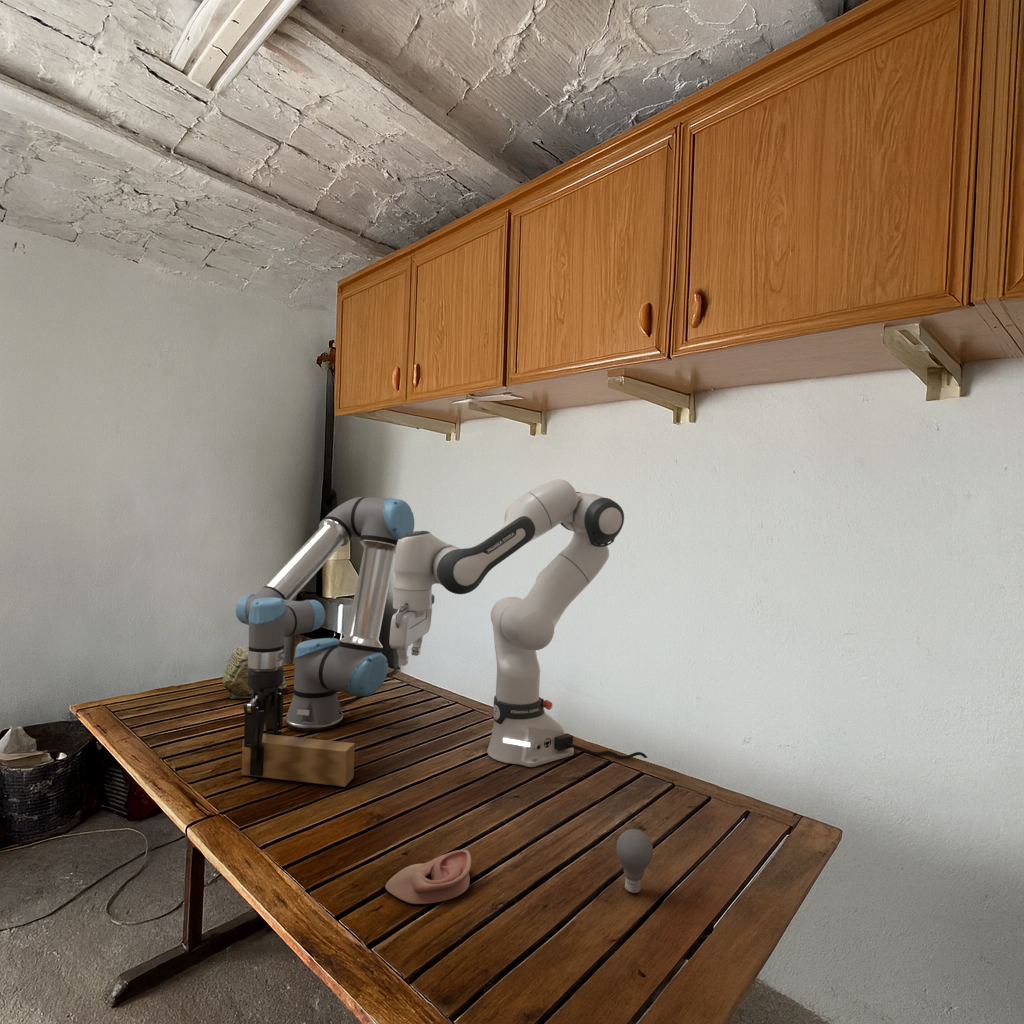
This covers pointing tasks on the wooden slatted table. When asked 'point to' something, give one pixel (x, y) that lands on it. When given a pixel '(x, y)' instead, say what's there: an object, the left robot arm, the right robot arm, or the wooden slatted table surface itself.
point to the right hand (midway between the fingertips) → (409, 659)
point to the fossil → (239, 675)
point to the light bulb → (634, 857)
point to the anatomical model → (432, 879)
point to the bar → (304, 760)
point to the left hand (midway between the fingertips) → (263, 769)
